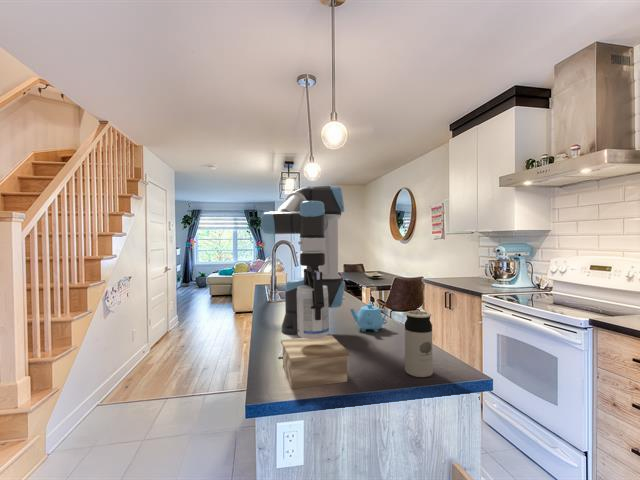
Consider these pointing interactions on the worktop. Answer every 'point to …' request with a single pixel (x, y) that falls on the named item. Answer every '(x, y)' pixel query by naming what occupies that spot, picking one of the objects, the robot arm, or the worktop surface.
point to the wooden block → (314, 361)
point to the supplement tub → (310, 313)
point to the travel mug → (418, 344)
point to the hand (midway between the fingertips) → (312, 326)
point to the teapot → (369, 317)
